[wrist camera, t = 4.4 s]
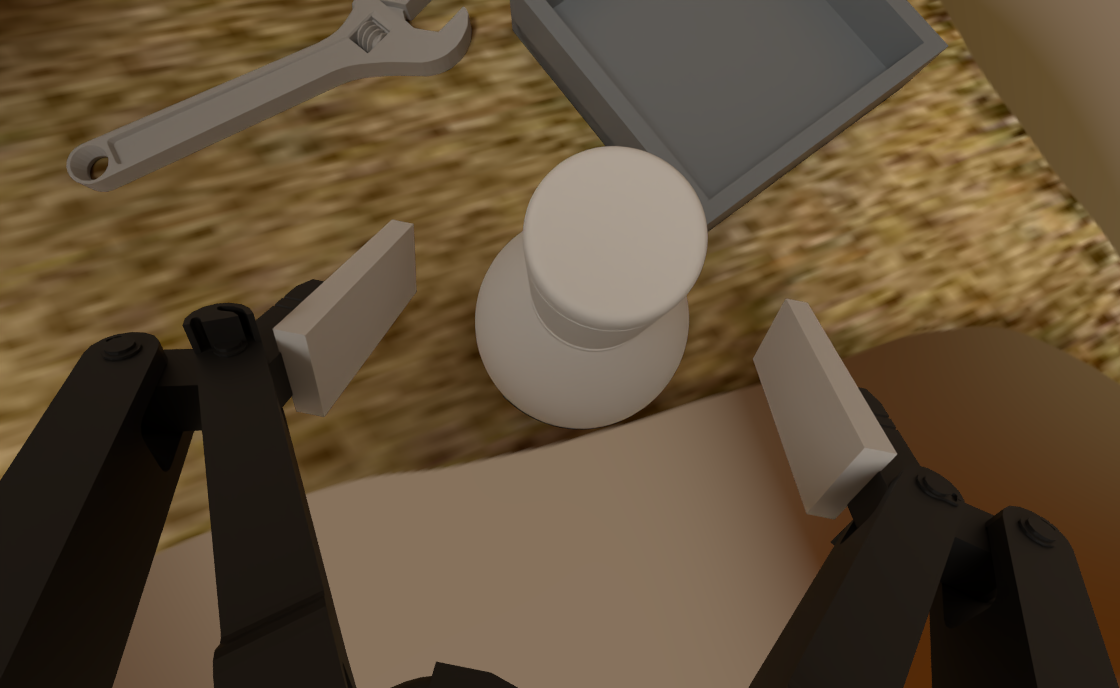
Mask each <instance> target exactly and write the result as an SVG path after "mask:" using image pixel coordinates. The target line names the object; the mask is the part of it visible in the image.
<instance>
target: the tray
mask: <svg viewBox="0 0 1120 688" xmlns="http://www.w3.org/2000/svg"><path fill="white" fill-rule="evenodd" d="M510 7H511V17H512V28H513V31H514V33H515V34H516V35H517V36H518V37H519V39H520V40H521V41H522V42H523V44H524V45H525V46H526V47H527V49H528V50H529V51H530V52H531V54H532V55H533V56H534V57H535V59H536V60H537V61H538V62H539V64H540V65H541V66H542V67H543V69H544V70H545V71H546V72H547V73H548V75H549V76H550V77H551V78H552V80H553V81H554V82H555V83H556V85H557V86H558V87H559V88H560V90H561V91H562V92H563V93H564V95H565V96H566V97H567V98H568V100H569V101H570V102H571V103H572V105H573V106H574V107H575V108H576V110H577V111H578V112H579V113H580V114H581V116H582V117H583V118H584V119H585V121H586V122H587V123H588V124H589V126H590V127H591V128H592V129H593V131H594V132H595V133H596V134H597V136H598V137H599V138H600V139H601V141H602V142H603V143H604V144H605V146H622V147H630V148H635V149H639V150H642V151H645V152H648V153H651V154H653V155H655V156H657V157H659V158H661V159H663V160H664V161H666V162H667V163H669V164H670V165H672V166H673V167H674V168H675V169H676V170H678V171H679V172H680V173H681V174H682V175H683V176H684V177H685V179H686V180H687V181H688V182H689V183H690V185H691V186H692V188H693V189H694V191H695V192H696V194H697V196H698V198H699V200H700V202H701V205H702V207H703V210H704V214H705V218H706V223H707V232H708V231H709V230H711V229H712V228H713V227H715V226H716V225H717V224H719V223H720V222H721V221H723V220H724V219H726V218H727V217H728V216H730V215H731V214H732V213H734V212H735V211H736V210H738V209H739V208H740V207H742V206H743V205H744V204H746V203H747V202H748V201H750V200H751V199H752V198H754V197H755V196H757V195H758V194H759V193H761V192H762V191H763V190H765V189H766V188H767V187H769V186H770V185H771V184H773V183H774V182H775V181H777V180H778V179H779V178H781V177H782V176H783V175H785V174H786V173H787V172H789V171H790V170H792V169H793V168H794V167H796V166H797V165H798V164H800V163H801V162H802V161H804V160H805V159H806V158H808V157H809V156H810V155H812V154H813V153H814V152H816V151H817V150H818V149H820V148H821V147H823V146H824V145H825V144H827V143H828V142H829V141H831V140H832V139H833V138H835V137H836V136H837V135H839V134H840V133H841V132H843V131H844V130H845V129H847V128H848V127H849V126H851V125H852V124H853V123H855V122H856V121H858V120H859V119H860V118H862V117H863V116H864V115H866V114H867V113H868V112H870V111H871V110H872V109H874V108H875V107H876V106H878V105H879V104H880V103H882V102H883V101H884V100H886V99H887V98H889V97H890V96H891V95H893V94H894V93H895V92H897V91H898V90H899V89H901V88H902V87H903V86H904V85H905V84H906V83H908V82H909V81H910V80H911V79H912V78H913V77H914V76H915V75H916V74H918V73H919V72H920V71H921V70H922V69H923V68H924V67H925V66H927V65H928V64H929V63H930V62H931V61H932V60H933V59H934V58H936V57H937V56H938V55H939V54H940V53H941V52H942V51H943V50H945V49H946V48H947V47H948V45H947V44H946V43H945V42H944V41H943V39H942V38H941V37H940V36H939V35H938V34H937V33H936V32H935V31H934V30H933V29H932V27H931V26H930V25H929V24H928V23H927V22H926V21H925V20H924V19H923V18H922V16H921V15H920V14H919V13H918V12H917V11H916V10H915V9H914V8H913V7H912V6H911V4H910V3H909V2H908V1H907V0H510Z"/></svg>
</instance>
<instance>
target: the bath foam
mask: <svg viewBox="0 0 1120 688" xmlns="http://www.w3.org/2000/svg"><path fill="white" fill-rule="evenodd" d="M707 242H708V232H707V223H706V218H705V214H704V210H703V207H702V205H701V202H700V200H699V198H698V196H697V194H696V192H695V191H694V189H693V188H692V186H691V185H690V183H689V182H688V181H687V180H686V179H685V177H684V176H683V175H682V174H681V173H680V172H679V171H678V170H676V169H675V168H674V167H673V166H672V165H670V164H669V163H667V162H666V161H664V160H663V159H661V158H659V157H657V156H655V155H653V154H651V153H648V152H645V151H642V150H639V149H635V148H630V147H622V146H605V147H598V148H593V149H589V150H585V151H583V152H580V153H577V154H575V155H573V156H571V157H569V158H567V159H566V160H564V161H563V162H561V163H560V164H558V165H557V166H556V167H555V168H554V169H552V170H551V171H550V172H549V173H548V174H547V175H546V177H545V178H544V179H543V180H542V181H541V183H540V184H539V185H538V187H537V188H536V190H535V192H534V194H533V195H532V197H531V200H530V202H529V205H528V207H527V211H526V214H525V219H524V225H523V231H522V232H521V233H519V234H518V235H517V236H515V237H514V238H513V239H512V240H511V241H510V242H509V243H508V244H507V245H506V246H505V247H504V248H503V249H502V250H501V251H500V252H499V254H498V255H497V256H496V258H495V259H494V261H493V262H492V264H491V266H490V267H489V269H488V271H487V273H486V275H485V277H484V279H483V282H482V285H481V288H480V291H479V295H478V299H477V304H476V312H475V331H476V341H477V345H478V349H479V353H480V356H481V359H482V361H483V364H484V366H485V368H486V370H487V372H488V374H489V376H490V378H491V379H492V381H493V382H494V384H495V385H496V387H497V388H498V389H499V390H500V392H501V393H502V394H503V395H504V396H503V397H504V398H505V399H507V400H508V401H509V402H510V403H511V404H512V405H514V406H515V407H516V408H517V409H519V410H520V411H522V412H523V413H525V414H526V415H528V416H530V417H532V418H534V419H536V420H538V421H540V422H543V423H546V424H549V425H552V426H556V427H561V428H567V429H593V428H600V427H604V426H608V425H612V424H615V423H617V422H620V421H622V420H624V419H626V418H628V417H630V416H632V415H634V414H635V413H637V412H638V411H640V410H642V409H643V408H644V407H646V406H647V405H648V404H649V403H650V402H652V401H653V400H654V399H655V398H656V397H657V396H658V395H659V394H660V393H661V392H662V391H663V389H664V388H665V387H666V386H667V384H668V383H669V381H670V380H671V378H672V377H673V375H674V373H675V372H676V370H677V368H678V366H679V364H680V361H681V359H682V356H683V353H684V350H685V346H686V342H687V337H688V330H689V308H688V301H687V296H686V295H687V294H688V293H689V291H690V290H691V288H692V287H693V285H694V284H695V282H696V280H697V279H698V277H699V275H700V272H701V270H702V267H703V264H704V261H705V257H706V252H707Z"/></svg>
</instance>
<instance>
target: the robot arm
mask: <svg viewBox="0 0 1120 688" xmlns="http://www.w3.org/2000/svg"><path fill="white" fill-rule="evenodd" d="M416 292H417V290H416V267H415V244H414V224H412V223H407V222H402V221H397V220H391V221H390V222H389V223H388V224H387V225H385V226H384V227H383V228H382V229H381V230H380V231H379V232H378V233H377V234H376V235H375V236H373V237H372V238H371V239H370V240H369V241H368V242H367V243H366V244H365V245H364V246H363V247H361V248H360V249H359V250H358V251H357V252H356V253H355V254H354V255H353V256H352V257H351V258H349V259H348V260H347V261H346V262H345V263H344V264H343V265H342V266H341V267H340V268H338V269H337V270H336V271H335V272H334V273H333V274H332V275H331V276H330V277H329V278H328V279H326V280H325V281H319V280H314V279H312V280H310V281H307V282H305V283H303V284H300V285H298V286H296V287H295V288H294V289H292V290H291V291H290V292H289V293H288V294H287V295H285V297H284V298H282V299H281V300H279V301H278V302H277V303H276V304H275V306H272V307H271V308H270V309H269V310H268V311H267V312H265V313H264V314H263V315H262V316H261V317H260V318H258V319H257V320H256V321H255V317H254V314H253V312H252V311H251V310H250V308H248V307H246V306H244V305H242V304H235V303H220V304H214V305H210V306H205V307H202V308H200V309H198V310H196V311H194V312H192V313H191V314H190V315H189V316H187V317H186V318H185V320H184V323H183V328H184V330H185V332H186V334H187V337H188V339H189V341H190V344H191V346H192V348H193V349H173V350H163V348H162V346H161V344H160V342H159V340H158V339H157V338H156V337H155V336H154V335H151V334H147V333H140V332H130V333H123V334H117V335H113V336H110V337H107V338H105V339H102V340H100V341H99V342H97V343H95V344H93V345H91V346H90V347H89V348H88V349H87V350H86V351H85V352H84V353H83V355H82V356H81V358H80V359H79V361H78V362H77V364H76V365H75V367H74V368H73V370H72V372H71V373H70V375H69V376H68V378H67V379H66V381H65V382H64V384H63V385H62V387H61V388H60V390H59V391H58V393H57V395H56V396H55V398H54V399H53V401H52V402H51V404H50V405H49V407H48V408H47V410H46V411H45V413H44V414H43V416H42V418H41V419H40V421H39V422H38V424H37V425H36V427H35V428H34V430H33V431H32V433H31V434H30V436H29V437H28V439H27V440H26V442H25V444H24V445H23V447H22V448H21V450H20V451H19V453H18V454H17V456H16V457H15V459H14V460H13V462H12V463H11V465H10V467H9V468H8V470H7V471H6V473H5V474H4V476H3V477H2V479H1V480H0V688H112V686H113V683H114V680H115V677H116V674H117V670H118V668H119V664H120V661H121V658H122V655H123V652H124V649H125V646H126V643H127V639H128V636H129V633H130V630H131V627H132V624H133V621H134V617H135V615H136V611H137V608H138V605H139V602H140V599H141V596H142V593H143V589H144V586H145V583H146V580H147V577H148V574H149V571H150V568H151V564H152V561H153V558H154V555H155V552H156V549H157V546H158V543H159V539H160V536H161V533H162V530H163V527H164V524H165V521H166V517H167V514H168V511H169V508H170V505H171V502H172V499H173V496H174V492H175V489H176V486H177V483H178V480H179V477H180V474H181V471H182V467H183V464H184V461H185V458H186V455H187V452H188V449H189V446H190V442H191V439H192V436H193V433H194V431H199V430H202V434H203V445H204V456H205V466H206V477H207V488H208V499H209V510H210V520H211V531H212V542H213V552H214V563H215V574H216V585H217V596H218V607H219V617H220V629H221V641H220V645H219V646H218V647H217V648H216V650H215V652H214V658H213V679H214V688H356V685H355V682H354V678H353V674H352V671H351V667H350V664H349V661H348V657H347V653H346V650H345V646H344V642H343V638H342V634H341V630H340V627H339V623H338V619H337V615H336V611H335V607H334V603H333V599H332V595H331V592H330V588H329V584H328V580H327V576H326V572H325V568H324V564H323V561H322V557H321V553H320V549H319V545H318V542H317V538H316V533H315V530H314V526H313V522H312V518H311V514H310V510H309V506H308V503H307V499H306V495H305V491H304V487H303V483H302V479H301V475H300V471H299V468H298V464H297V460H296V456H295V452H294V448H293V444H292V440H291V437H290V433H289V429H288V425H287V421H286V417H285V414H284V410H283V406H284V404H285V403H286V402H287V401H288V400H289V399H290V397H291V396H292V398H293V402H294V405H295V409H296V411H297V412H302V413H307V414H312V415H317V416H322V417H325V415H326V414H327V413H328V411H329V410H330V409H331V407H332V406H333V404H334V403H335V402H336V400H337V399H338V398H339V396H340V395H341V394H342V392H343V391H344V390H345V388H346V387H347V385H348V384H349V383H350V381H351V380H352V379H353V377H354V376H355V375H356V373H357V372H358V370H359V369H360V368H361V366H362V365H363V364H364V362H365V361H366V360H367V358H368V357H369V356H370V354H371V353H372V351H373V350H374V349H375V347H376V346H377V345H378V343H379V342H380V341H381V339H382V338H383V336H384V335H385V334H386V332H387V331H388V330H389V328H390V327H391V326H392V324H393V323H394V321H395V320H396V319H397V317H398V316H399V315H400V313H401V312H402V311H403V309H404V308H405V307H406V305H407V304H408V302H409V301H410V300H411V298H412V297H413V296H414V294H415V293H416ZM753 361H754V364H755V367H756V370H757V372H758V375H759V378H760V381H761V384H762V387H763V390H764V393H765V395H766V398H767V401H768V404H769V407H770V410H771V413H772V416H773V419H774V421H775V424H776V427H777V430H778V433H779V436H780V439H781V442H782V445H783V447H784V450H785V453H786V456H787V459H788V462H789V465H790V468H791V470H792V473H793V476H794V479H795V482H796V485H797V488H798V491H799V494H800V496H801V499H802V502H803V505H804V508H805V511H806V513H807V514H810V515H815V516H821V517H825V518H831V519H836V517H837V516H838V515H839V514H840V513H841V512H842V511H843V510H844V509H845V508H846V507H847V506H848V508H849V510H850V513H851V515H852V518H853V520H852V521H851V522H850V523H849V524H848V525H847V526H846V527H845V528H844V529H843V530H842V531H841V532H840V533H839V534H838V535H837V536H836V537H835V538H834V539H833V540H832V541H831V543H832V544H833V545H835V546H834V548H833V549H832V551H831V552H830V554H829V555H828V557H827V559H826V561H825V562H824V564H823V565H822V567H821V569H820V570H819V572H818V574H817V575H816V577H815V579H814V580H813V582H812V584H811V585H810V587H809V588H808V590H807V592H806V593H805V595H804V597H803V598H802V600H801V602H800V603H799V605H798V607H797V608H796V610H795V612H794V613H793V615H792V617H791V618H790V620H789V622H788V623H787V625H786V626H785V628H784V630H783V631H782V633H781V635H780V636H779V638H778V640H777V641H776V643H775V645H774V646H773V648H772V650H771V651H770V653H769V655H768V656H767V658H766V660H765V661H764V663H763V664H762V666H761V668H760V669H759V671H758V673H757V674H756V676H755V678H754V679H753V681H752V683H751V684H750V686H749V688H903V687H904V684H905V681H906V678H907V675H908V672H909V669H910V666H911V663H912V661H913V658H914V655H915V652H916V649H917V646H918V643H919V640H920V637H921V634H922V631H923V629H924V626H925V623H926V620H927V617H928V614H929V611H930V637H931V639H930V640H931V668H932V688H1119V687H1118V683H1117V680H1116V678H1115V674H1114V672H1113V668H1112V665H1111V662H1110V659H1109V656H1108V653H1107V650H1106V648H1105V644H1104V641H1103V638H1102V635H1101V632H1100V629H1099V626H1098V623H1097V620H1096V617H1095V614H1094V611H1093V608H1092V605H1091V602H1090V599H1089V596H1088V593H1087V590H1086V587H1085V584H1084V581H1083V578H1082V575H1081V572H1080V569H1079V566H1078V563H1077V560H1076V557H1075V554H1074V551H1073V549H1072V547H1071V545H1070V543H1069V542H1068V540H1067V539H1066V538H1065V537H1064V536H1063V534H1062V533H1061V532H1059V530H1058V529H1057V528H1056V527H1055V526H1054V525H1053V524H1050V522H1049V521H1047V520H1045V519H1044V518H1043V517H1040V516H1039V515H1037V514H1035V513H1033V512H1032V511H1029V510H1026V509H1024V508H1021V507H1016V506H1008V507H1006V508H1004V509H1003V510H1001V511H1000V512H999V513H997V514H996V515H995V516H994V515H991V514H989V513H987V512H985V511H982V510H980V509H978V508H975V507H973V506H971V505H969V504H966V503H964V499H963V498H962V496H961V494H960V492H959V491H958V490H957V489H956V488H955V487H954V486H953V485H952V483H950V482H949V481H948V480H947V479H945V478H944V477H942V476H941V475H940V474H938V473H936V472H934V471H932V470H930V469H928V468H925V467H921V466H920V465H919V463H918V462H917V460H916V458H915V457H914V455H913V454H912V452H911V450H910V449H909V447H908V446H907V444H906V442H905V441H904V439H903V438H902V436H901V435H900V433H899V431H898V430H896V427H895V425H894V423H893V422H892V420H891V419H889V418H888V417H889V415H888V414H887V412H886V411H885V409H884V407H883V406H882V404H881V403H880V402H879V401H878V400H877V399H876V398H875V397H874V396H873V395H872V394H871V393H870V392H868V390H866V389H864V388H859V387H857V385H856V384H855V382H854V380H853V379H852V377H851V376H850V373H849V372H848V370H847V368H846V367H845V365H844V363H843V362H842V360H841V358H840V357H839V355H838V353H837V352H836V350H835V348H834V347H833V345H832V343H831V341H830V340H829V338H828V336H827V335H826V333H825V331H824V330H823V328H822V326H821V325H820V323H819V321H818V320H817V318H816V316H815V315H814V313H813V311H812V309H811V308H810V306H809V304H808V303H806V302H801V301H796V300H791V299H785V301H784V303H783V304H782V306H781V308H780V310H779V312H778V314H777V315H776V317H775V319H774V321H773V323H772V325H771V326H770V328H769V330H768V332H767V334H766V336H765V337H764V339H763V341H762V343H761V345H760V347H759V348H758V350H757V352H756V354H755V356H754V358H753ZM392 688H517V687H516V686H514V685H512V684H510V683H509V682H507V681H505V680H503V679H501V678H500V677H498V676H496V675H494V674H492V673H489V672H485V671H480V670H474V669H470V668H465V667H460V666H455V665H450V664H445V663H440V662H436V664H435V668H434V671H433V674H432V676H429V677H420V678H417V679H413V680H410V681H406V682H403V683H401V684H399V685H396V686H394V687H392Z"/></svg>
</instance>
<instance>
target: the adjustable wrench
mask: <svg viewBox="0 0 1120 688" xmlns="http://www.w3.org/2000/svg"><path fill="white" fill-rule="evenodd" d="M430 1H431V0H354V1H353V3H352V8H353V10H352V12H351V13H350V15H349V16H348V18H347V19H346V21H345V22H344V24H343V25H342V26H341V27H340V28H339V29H338V30H337V31H336V32H335V33H333V34H332V35H331V36H329V37H328V38H326V39H324V40H322V41H321V42H319V43H317V44H314V45H312V46H310V47H307V48H305V49H303V50H300V51H298V52H296V53H293V54H291V55H289V56H286V57H284V58H282V59H279V60H277V61H275V62H272V63H270V64H268V65H265V66H263V67H261V68H258V69H256V70H254V71H251V72H249V73H247V74H244V75H242V76H240V77H237V78H235V79H233V80H230V81H228V82H226V83H223V84H221V85H219V86H216V87H214V88H212V89H209V90H207V91H205V92H202V93H200V94H198V95H195V96H193V97H191V98H188V99H186V100H184V101H181V102H179V103H177V104H174V105H172V106H170V107H167V108H165V109H163V110H160V111H158V112H156V113H153V114H151V115H149V116H146V117H144V118H142V119H139V120H137V121H135V122H132V123H130V124H128V125H125V126H123V127H121V128H118V129H116V130H114V131H111V132H109V133H107V134H104V135H102V136H100V137H97V138H95V139H93V140H90V141H88V142H86V143H83V144H81V145H79V146H78V147H76V148H75V149H74V150H73V151H72V152H71V153H70V155H69V157H68V159H67V166H66V167H67V171H68V174H69V175H70V177H71V178H72V179H73V180H75V181H76V182H78V183H80V184H82V185H85V186H87V187H89V188H91V189H93V190H96V191H100V192H108V191H111V190H115V189H117V188H119V187H121V186H123V185H125V184H127V183H130V182H132V181H134V180H136V179H138V178H140V177H143V176H145V175H147V174H149V173H151V172H153V171H156V170H158V169H160V168H162V167H164V166H166V165H168V164H171V163H173V162H175V161H177V160H179V159H181V158H184V157H186V156H188V155H190V154H192V153H194V152H197V151H199V150H201V149H203V148H205V147H207V146H209V145H212V144H214V143H216V142H218V141H220V140H222V139H225V138H227V137H229V136H231V135H233V134H235V133H238V132H240V131H242V130H244V129H246V128H248V127H250V126H253V125H255V124H257V123H259V122H261V121H263V120H266V119H268V118H270V117H272V116H274V115H276V114H278V113H281V112H283V111H285V110H287V109H289V108H291V107H294V106H296V105H298V104H300V103H302V102H304V101H307V100H309V99H311V98H313V97H315V96H317V95H319V94H322V93H324V92H326V91H328V90H330V89H332V88H335V87H337V86H339V85H341V84H344V83H347V82H349V81H352V80H356V79H362V78H368V77H380V76H432V75H436V74H440V73H443V72H445V71H447V70H449V69H451V68H452V67H453V66H455V65H456V64H457V63H458V62H459V61H460V60H461V59H462V58H463V56H464V55H465V53H466V51H467V49H468V47H469V45H470V42H471V32H472V29H471V24H470V19H469V15H468V12H467V10H466V9H465V7H464V6H463V7H462V8H461V10H460V11H459V12H458V13H457V14H456V15H455V16H454V17H453V18H452V19H451V20H450V21H449V22H448V23H447V24H446V25H445V26H444V27H443V28H442V29H441V30H440V31H439V32H435V31H429V30H422V29H416V28H413V27H412V26H411V25H410V24H409V23H408V22H406V20H410V21H412V20H413V19H414V18H415V17H416V16H417V15H418V14H419V13H420V12H421V11H422V10H423V8H424V7H425V6H426V5H427V4H428V3H429V2H430ZM103 157H108V159H109V162H108V167H107V169H106V171H105V172H104V174H103V175H102V176H100V177H99V178H97V179H95V180H92V179H91V176H90V169H91V167H92V165H93V164H94V163H95V162H96V161H97V160H98V159H100V158H103Z"/></svg>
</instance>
